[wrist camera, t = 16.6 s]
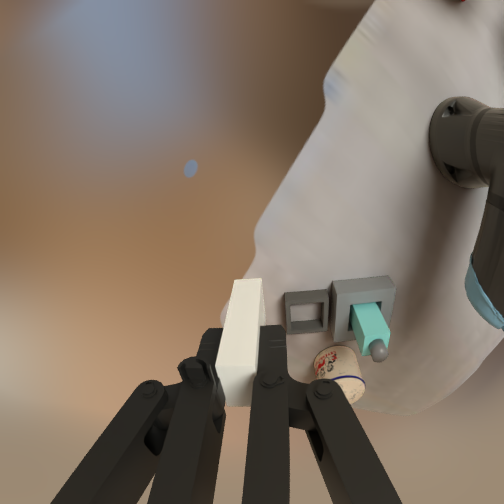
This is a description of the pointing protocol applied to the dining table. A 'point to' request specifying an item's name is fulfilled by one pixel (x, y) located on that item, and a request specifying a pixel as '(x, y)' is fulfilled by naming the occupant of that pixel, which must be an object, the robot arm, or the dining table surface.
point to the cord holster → (304, 298)
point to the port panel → (359, 302)
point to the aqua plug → (370, 330)
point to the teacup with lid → (341, 370)
